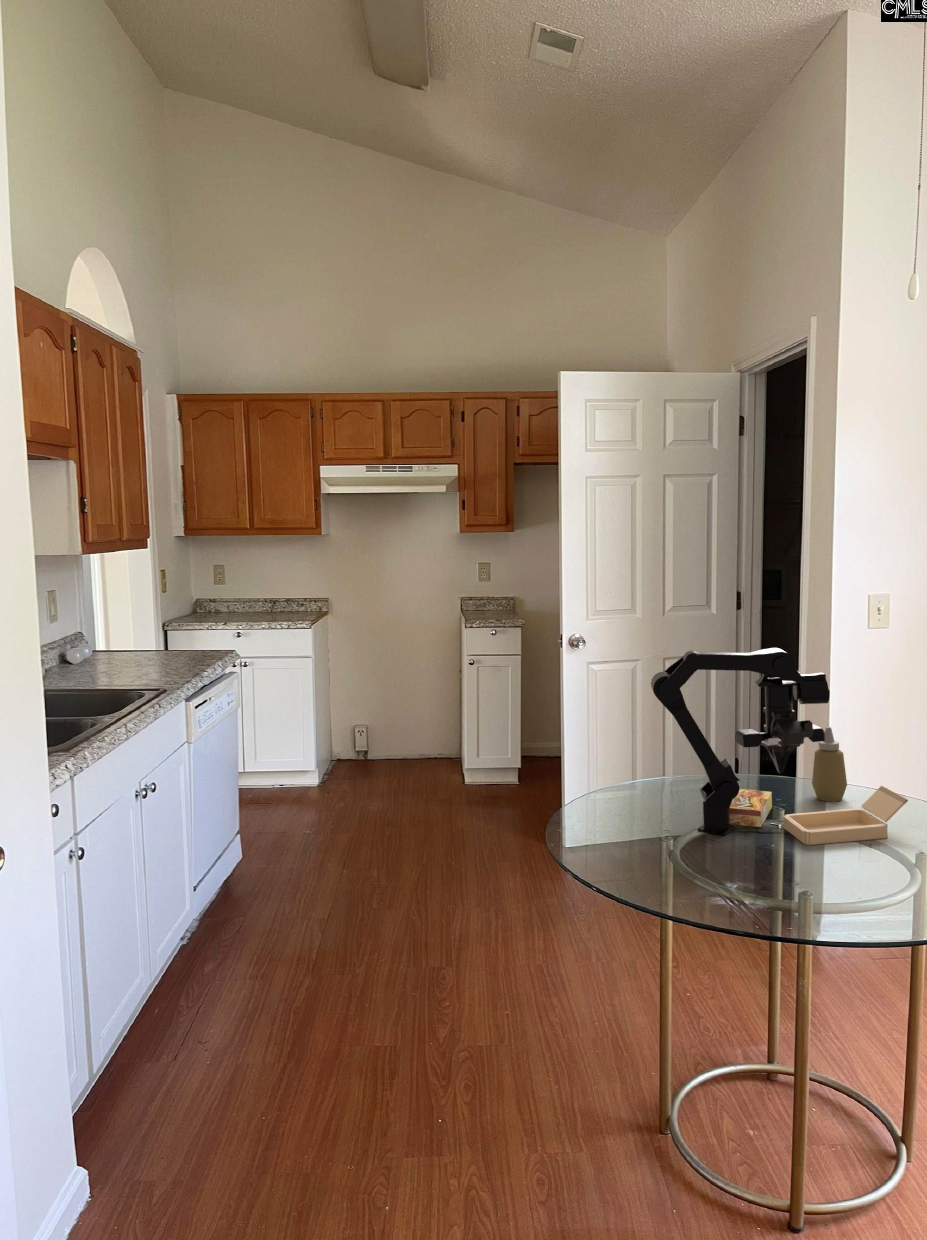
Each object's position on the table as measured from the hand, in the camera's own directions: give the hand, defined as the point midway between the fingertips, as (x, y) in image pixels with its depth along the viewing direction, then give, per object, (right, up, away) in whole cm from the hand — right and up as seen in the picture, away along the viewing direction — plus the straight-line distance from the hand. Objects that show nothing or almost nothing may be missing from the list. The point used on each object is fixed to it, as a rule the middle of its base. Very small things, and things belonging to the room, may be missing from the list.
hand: (780, 772), depth 197 cm
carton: (+11, -13, -3) cm, 17 cm away
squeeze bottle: (+19, -10, +19) cm, 29 cm away
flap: (+19, -9, -3) cm, 21 cm away
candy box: (0, -9, +18) cm, 20 cm away
